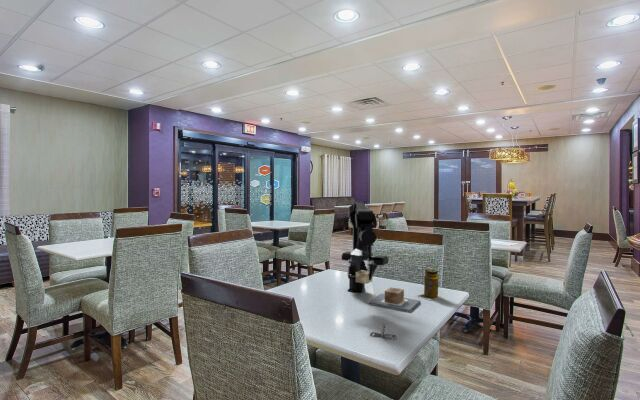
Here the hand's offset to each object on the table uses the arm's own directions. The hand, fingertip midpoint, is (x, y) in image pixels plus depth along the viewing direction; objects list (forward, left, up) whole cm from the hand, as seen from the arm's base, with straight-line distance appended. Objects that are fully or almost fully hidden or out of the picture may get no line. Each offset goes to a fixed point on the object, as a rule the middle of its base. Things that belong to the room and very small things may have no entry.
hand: (364, 279), depth 143 cm
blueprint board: (+9, +12, -12) cm, 19 cm away
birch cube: (0, 0, -1) cm, 1 cm away
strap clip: (+18, -22, -12) cm, 31 cm away
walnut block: (+9, +12, -11) cm, 18 cm away
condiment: (+19, +30, -12) cm, 37 cm away
